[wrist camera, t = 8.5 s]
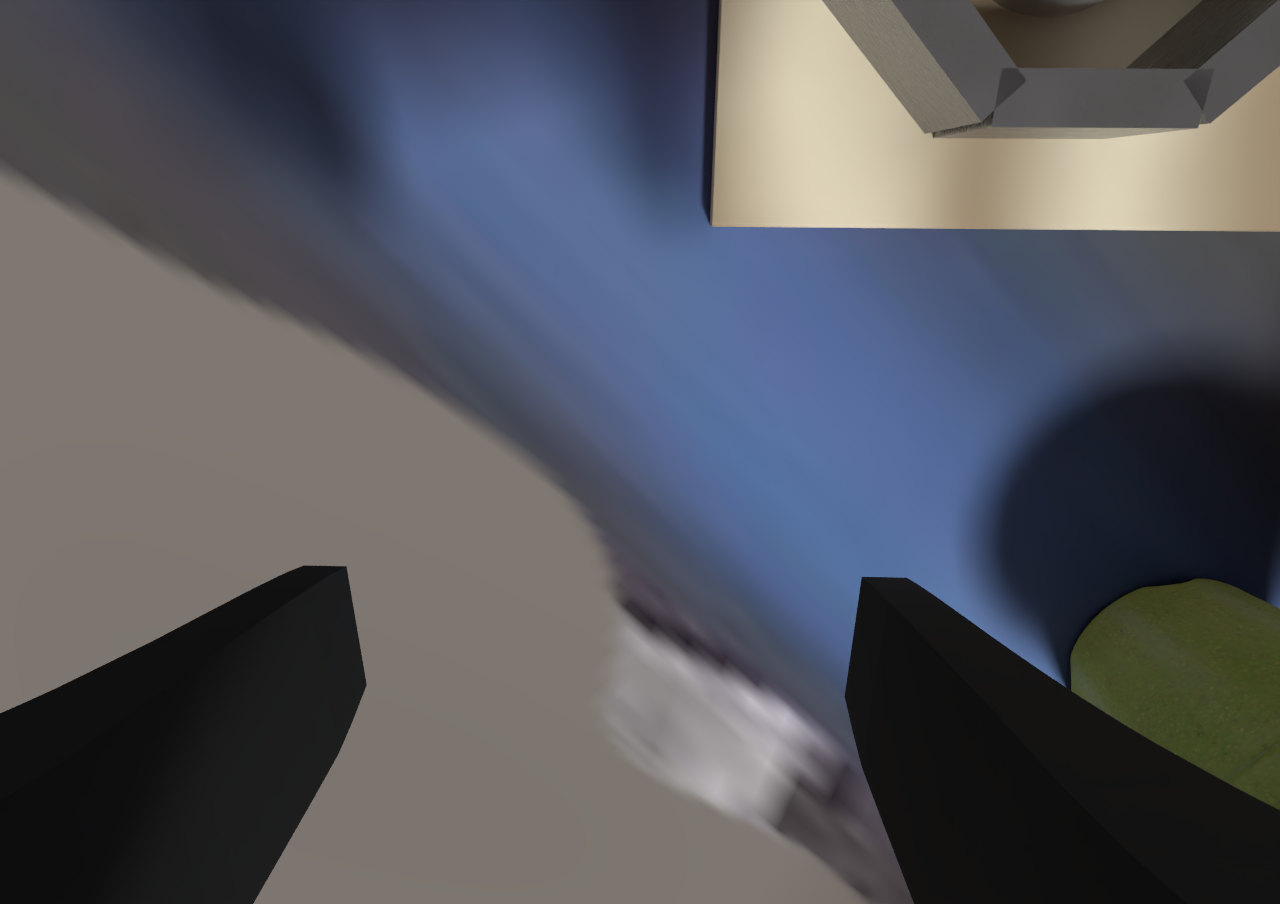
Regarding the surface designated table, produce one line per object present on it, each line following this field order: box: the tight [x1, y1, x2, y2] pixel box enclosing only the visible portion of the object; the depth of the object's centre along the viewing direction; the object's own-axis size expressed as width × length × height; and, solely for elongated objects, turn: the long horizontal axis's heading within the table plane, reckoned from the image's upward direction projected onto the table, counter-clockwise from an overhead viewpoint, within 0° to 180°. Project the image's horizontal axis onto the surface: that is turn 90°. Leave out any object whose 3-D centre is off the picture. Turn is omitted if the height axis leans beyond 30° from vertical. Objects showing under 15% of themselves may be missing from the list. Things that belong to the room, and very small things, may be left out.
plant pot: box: [1070, 579, 1280, 810], centre depth 18 cm, size 9×9×9 cm
